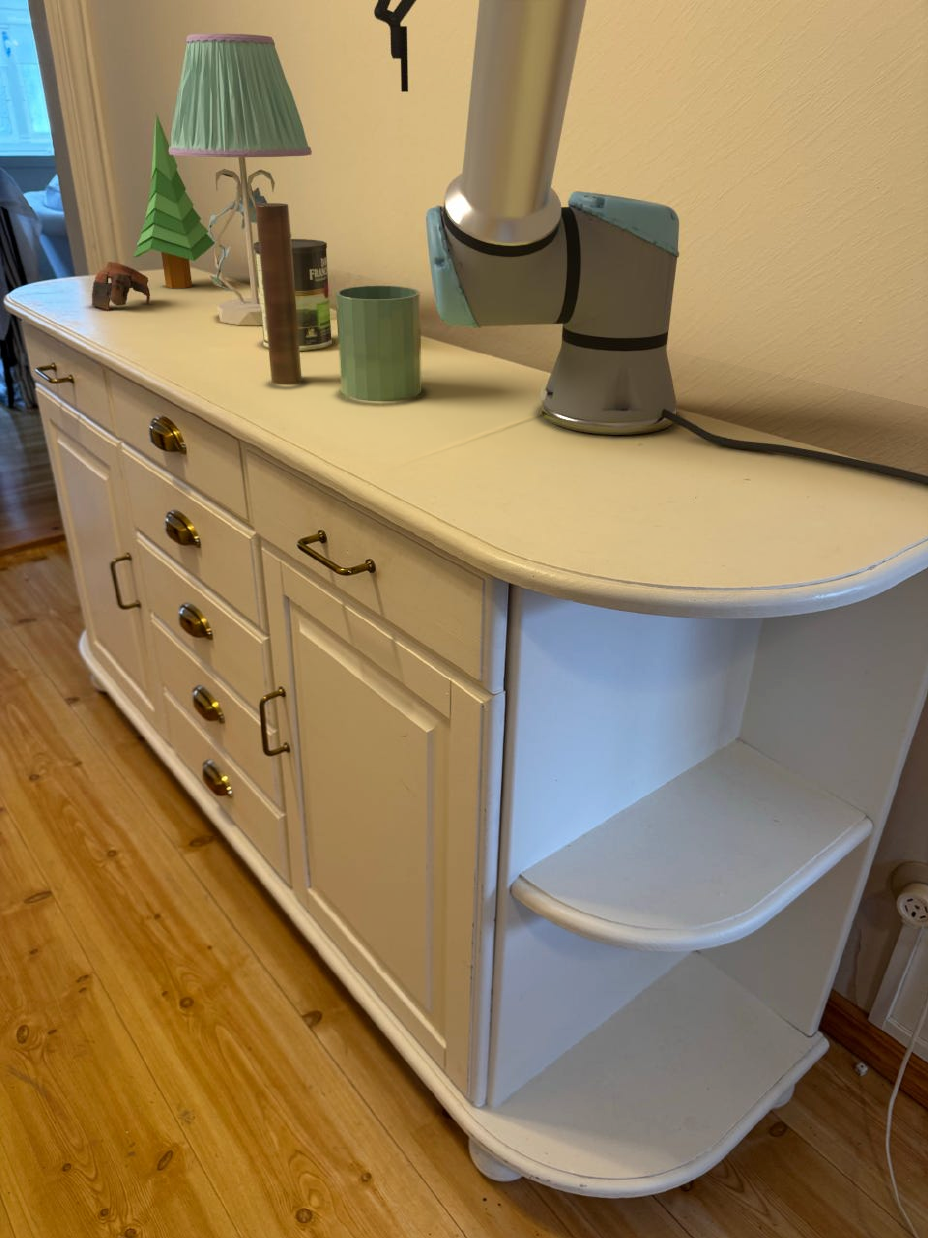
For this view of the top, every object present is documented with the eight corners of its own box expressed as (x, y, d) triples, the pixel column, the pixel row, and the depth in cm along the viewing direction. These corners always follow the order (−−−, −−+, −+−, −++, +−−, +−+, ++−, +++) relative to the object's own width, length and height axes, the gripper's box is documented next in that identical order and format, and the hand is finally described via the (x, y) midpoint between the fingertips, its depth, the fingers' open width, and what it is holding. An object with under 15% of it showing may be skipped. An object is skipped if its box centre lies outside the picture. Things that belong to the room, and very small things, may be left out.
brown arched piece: (85, 306, 165) (99, 261, 164) (139, 327, 169) (152, 284, 169) (88, 299, 154) (103, 251, 154) (146, 322, 158) (160, 275, 158)
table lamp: (336, 308, 163) (321, 41, 144) (300, 333, 144) (278, 30, 125) (219, 303, 166) (189, 41, 146) (168, 328, 147) (126, 30, 128)
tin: (437, 393, 115) (436, 292, 109) (381, 409, 108) (377, 303, 103) (381, 379, 120) (378, 282, 115) (325, 394, 114) (318, 292, 108)
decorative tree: (219, 290, 177) (199, 112, 163) (134, 293, 174) (106, 111, 160) (220, 279, 189) (201, 112, 174) (140, 281, 186) (114, 111, 171)
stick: (308, 383, 118) (294, 204, 108) (284, 389, 116) (269, 206, 106) (289, 378, 120) (274, 202, 110) (265, 384, 118) (248, 204, 108)
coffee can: (341, 338, 142) (336, 239, 135) (319, 353, 133) (312, 248, 126) (278, 334, 144) (269, 237, 137) (251, 349, 135) (241, 245, 128)
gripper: (570, -122, 105) (559, 93, 115) (349, -128, 103) (358, 91, 113) (582, -138, 98) (569, 92, 109) (346, -144, 97) (356, 90, 107)
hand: (461, 92), depth 111 cm, fingers open, 13 cm apart
